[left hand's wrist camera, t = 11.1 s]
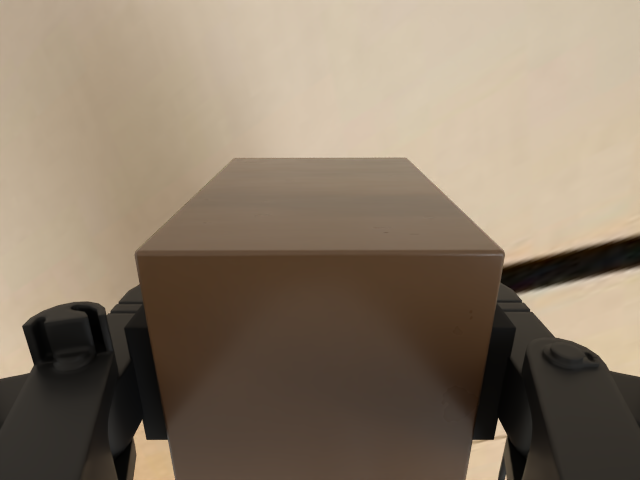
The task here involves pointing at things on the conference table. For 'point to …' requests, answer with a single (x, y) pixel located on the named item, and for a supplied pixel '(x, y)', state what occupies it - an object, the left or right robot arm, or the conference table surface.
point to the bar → (320, 323)
